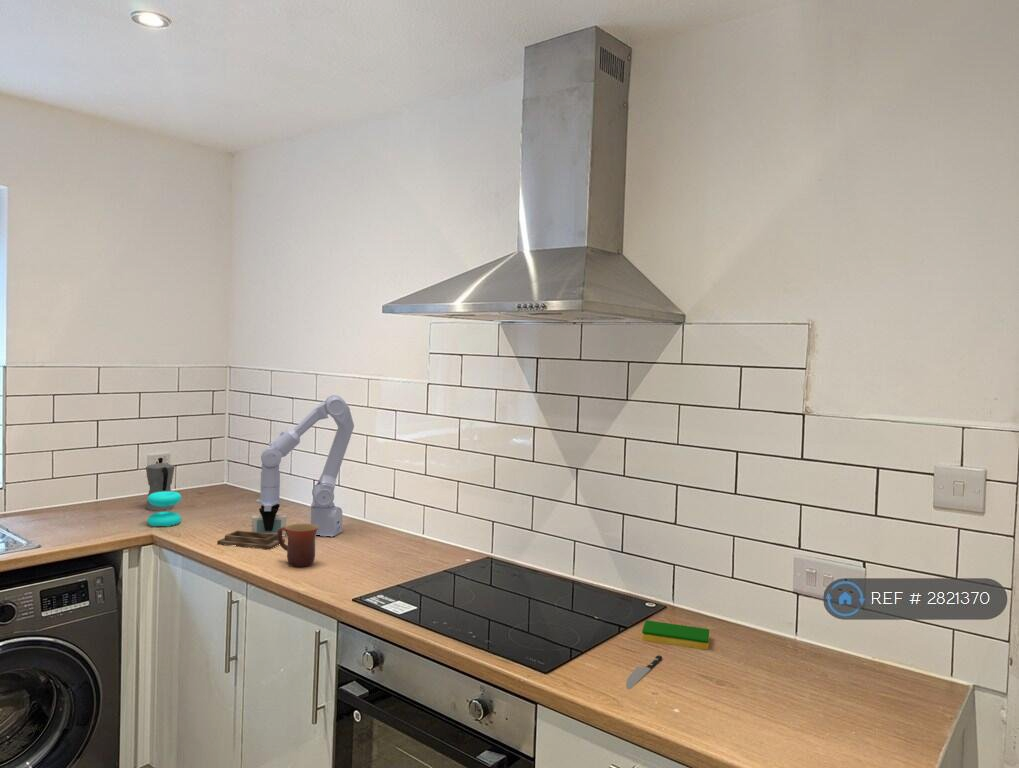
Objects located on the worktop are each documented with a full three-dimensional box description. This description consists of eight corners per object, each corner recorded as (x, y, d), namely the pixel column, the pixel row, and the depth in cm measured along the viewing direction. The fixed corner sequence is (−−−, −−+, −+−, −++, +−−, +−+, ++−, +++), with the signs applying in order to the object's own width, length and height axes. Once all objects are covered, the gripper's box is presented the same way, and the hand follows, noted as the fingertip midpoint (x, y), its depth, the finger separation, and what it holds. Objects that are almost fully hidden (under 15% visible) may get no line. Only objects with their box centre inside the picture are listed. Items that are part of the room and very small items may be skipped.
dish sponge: (645, 630, 167) (645, 619, 167) (708, 639, 163) (709, 628, 163) (641, 642, 160) (641, 631, 160) (707, 652, 156) (708, 640, 156)
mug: (323, 562, 207) (324, 525, 207) (304, 570, 199) (305, 532, 199) (287, 556, 211) (288, 520, 211) (267, 564, 203) (268, 527, 203)
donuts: (163, 489, 248) (188, 492, 245) (163, 519, 248) (187, 522, 245) (140, 494, 238) (165, 497, 235) (139, 525, 239) (165, 529, 236)
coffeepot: (141, 506, 266) (142, 455, 265) (169, 503, 272) (170, 454, 271) (150, 514, 254) (151, 462, 253) (180, 511, 260) (181, 460, 259)
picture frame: (286, 533, 236) (286, 515, 236) (285, 536, 233) (285, 517, 233) (252, 534, 234) (253, 515, 233) (251, 536, 231) (252, 517, 230)
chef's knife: (610, 692, 136) (625, 696, 135) (610, 686, 136) (625, 689, 135) (649, 657, 153) (663, 660, 151) (649, 651, 153) (663, 654, 151)
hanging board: (285, 542, 226) (285, 533, 226) (269, 549, 217) (269, 541, 217) (234, 537, 230) (234, 528, 230) (217, 544, 221) (217, 535, 221)
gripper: (259, 481, 239) (258, 523, 239) (254, 490, 225) (253, 535, 225) (282, 481, 240) (281, 523, 241) (278, 490, 226) (277, 534, 227)
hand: (269, 529), depth 233 cm, fingers closed on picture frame, 3 cm apart
